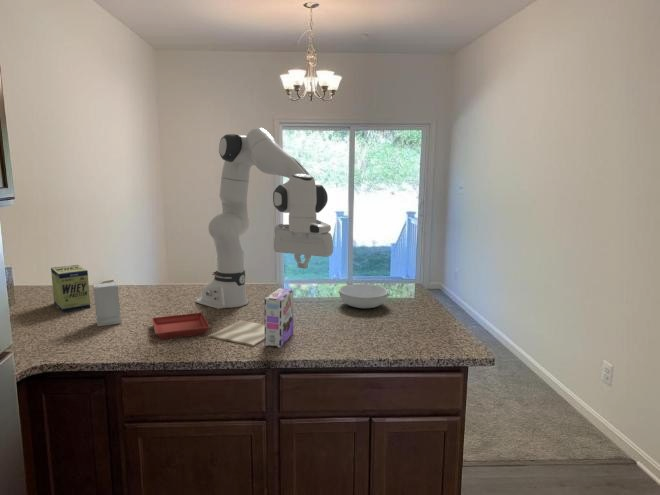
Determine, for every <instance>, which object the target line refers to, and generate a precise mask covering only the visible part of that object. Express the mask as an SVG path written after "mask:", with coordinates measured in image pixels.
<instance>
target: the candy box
mask: <svg viewBox="0 0 660 495" xmlns="http://www.w3.org/2000/svg"><path fill="white" fill-rule="evenodd" d="M264 325H265V340H264V346H265V347H273V348H278V349H279V348H282V347H283V346H284V345H285V343H287V341H288V340H289V339H290V338H291V337H292V336H293V335H294V289H291V288H279V287H278V288H277V289H276V290H275V291H273V292H272V293H269V295H268V296H267V297H264Z"/></svg>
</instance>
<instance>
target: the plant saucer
mask: <svg viewBox="0 0 660 495" xmlns="http://www.w3.org/2000/svg"><path fill="white" fill-rule="evenodd" d="M151 320H152V324H153V329H154V333H155V335H156V336H157V337H158V338H159V339H161V340H164V339H165V340H166V339H173V338H174V339H175V338H180V337H189V336H190V337H191V336H197V335H198V336H199V335H204V334H205V333H206V332H208V330H209V328H210V326H211V325H210V324H209V322H208V321H207V319H206V316H205V315H204V314H203V313H202V312H195V313H185V314H175V315H169V316H168V315H167V316H165V315H164V316H158V317H152V318H151Z"/></svg>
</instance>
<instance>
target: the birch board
mask: <svg viewBox="0 0 660 495" xmlns="http://www.w3.org/2000/svg"><path fill="white" fill-rule="evenodd" d="M209 337H210V338H213V339H218V340H222V341H227V342H232V343H237V344H240V345H246V346H251V347H255V346H257V345H258V344H260V343H262V342H265V323H264V324H262V323H258V322H252V321H246V320H242V319H241V320H238V321H237V322H234V323H233V324H230V325H228V326H226V327H224V328H222V329H220V330H218V331H216V332H214V333H211V334H210V335H209Z"/></svg>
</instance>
